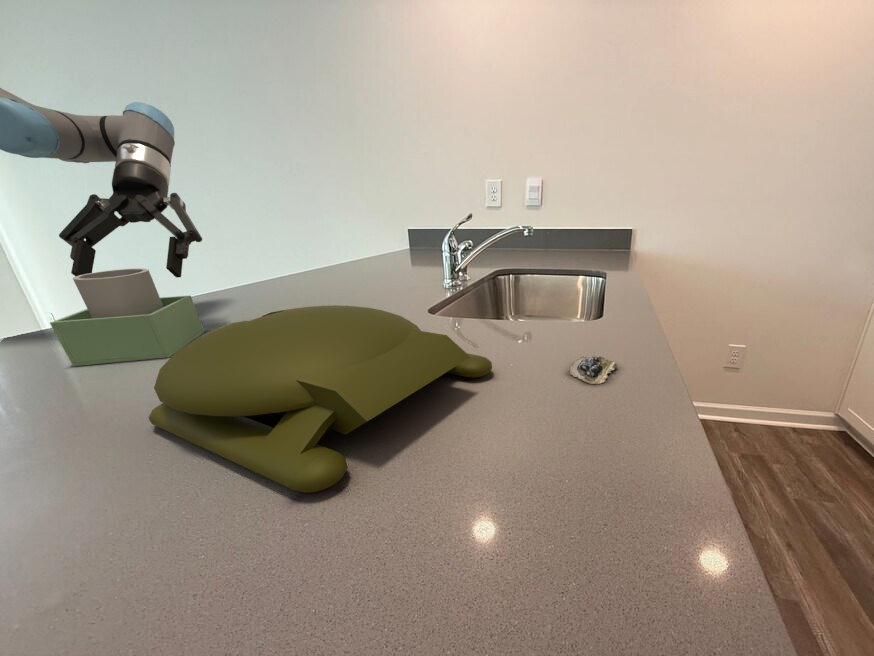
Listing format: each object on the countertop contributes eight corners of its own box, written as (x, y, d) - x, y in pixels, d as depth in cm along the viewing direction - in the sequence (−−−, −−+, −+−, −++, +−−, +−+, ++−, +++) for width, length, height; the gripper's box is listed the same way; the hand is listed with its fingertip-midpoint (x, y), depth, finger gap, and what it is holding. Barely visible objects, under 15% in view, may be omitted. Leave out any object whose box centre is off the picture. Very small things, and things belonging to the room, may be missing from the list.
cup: (176, 345, 69) (147, 273, 64) (105, 358, 65) (67, 282, 59) (175, 332, 76) (149, 266, 71) (111, 343, 71) (78, 273, 66)
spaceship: (499, 371, 58) (496, 303, 54) (315, 508, 34) (283, 405, 29) (331, 337, 73) (318, 282, 69) (120, 415, 49) (80, 338, 45)
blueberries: (616, 362, 60) (617, 350, 59) (621, 385, 53) (622, 372, 52) (570, 360, 61) (570, 348, 60) (569, 383, 54) (569, 370, 53)
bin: (72, 366, 63) (49, 322, 60) (124, 339, 75) (106, 301, 72) (169, 357, 66) (151, 315, 63) (204, 332, 78) (190, 295, 74)
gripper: (43, 161, 69) (17, 266, 63) (206, 160, 74) (198, 257, 68) (80, 195, 76) (60, 292, 70) (227, 192, 81) (221, 283, 75)
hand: (128, 275), depth 69 cm, fingers open, 13 cm apart
